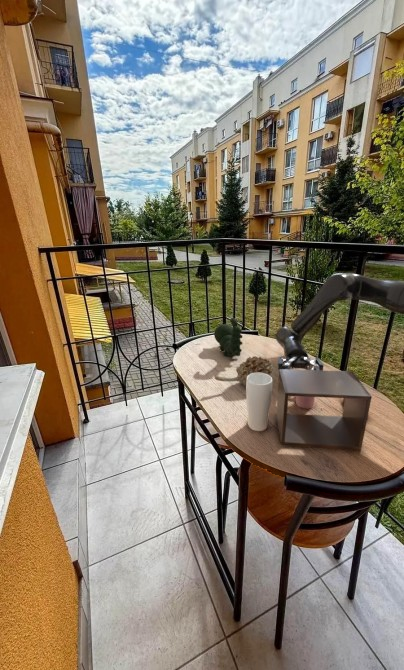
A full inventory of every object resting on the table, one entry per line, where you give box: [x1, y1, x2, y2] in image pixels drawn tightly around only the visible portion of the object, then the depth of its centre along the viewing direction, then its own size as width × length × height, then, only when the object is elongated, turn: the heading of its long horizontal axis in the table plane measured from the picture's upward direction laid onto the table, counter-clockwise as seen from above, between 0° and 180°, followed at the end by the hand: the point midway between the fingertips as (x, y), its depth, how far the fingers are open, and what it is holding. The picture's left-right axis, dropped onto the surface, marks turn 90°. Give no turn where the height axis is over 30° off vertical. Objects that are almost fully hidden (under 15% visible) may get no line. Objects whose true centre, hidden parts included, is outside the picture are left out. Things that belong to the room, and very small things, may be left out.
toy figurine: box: [213, 317, 244, 358], centre depth 124 cm, size 9×19×25 cm
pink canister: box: [295, 396, 316, 409], centre depth 85 cm, size 5×5×10 cm
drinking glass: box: [245, 373, 273, 432], centre depth 75 cm, size 7×7×15 cm
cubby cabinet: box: [275, 368, 373, 452], centre depth 72 cm, size 19×12×15 cm, turn 82°
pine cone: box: [213, 355, 273, 386], centre depth 97 cm, size 22×10×10 cm, turn 113°
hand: (303, 374), depth 89 cm, fingers open, 8 cm apart
